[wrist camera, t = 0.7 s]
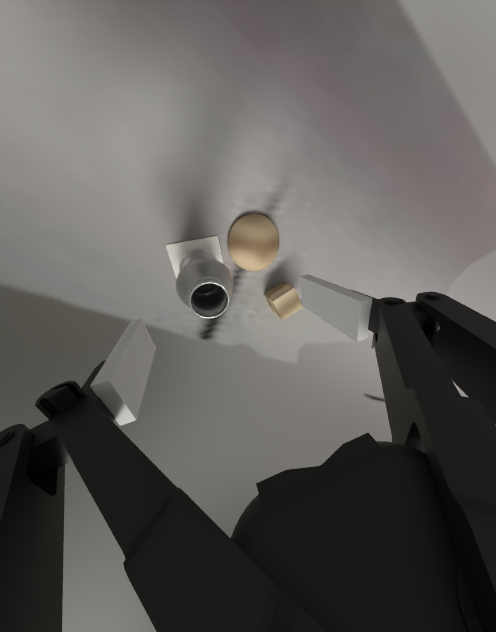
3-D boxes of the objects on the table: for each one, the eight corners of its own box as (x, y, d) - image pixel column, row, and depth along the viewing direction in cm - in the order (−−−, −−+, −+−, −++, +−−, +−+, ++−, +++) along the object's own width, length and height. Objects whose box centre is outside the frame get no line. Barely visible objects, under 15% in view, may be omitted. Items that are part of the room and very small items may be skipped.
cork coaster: (222, 218, 33) (223, 218, 33) (275, 210, 35) (276, 209, 34) (233, 275, 38) (233, 275, 37) (279, 264, 39) (281, 265, 39)
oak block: (263, 294, 41) (272, 301, 37) (283, 281, 41) (294, 287, 37) (273, 311, 44) (282, 320, 39) (291, 299, 44) (302, 307, 39)
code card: (165, 245, 32) (165, 245, 32) (217, 235, 34) (217, 235, 34) (181, 294, 36) (181, 294, 36) (227, 284, 38) (227, 284, 38)
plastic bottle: (173, 253, 33) (156, 278, 16) (211, 243, 34) (235, 255, 17) (187, 288, 36) (186, 341, 18) (221, 277, 37) (251, 319, 19)
